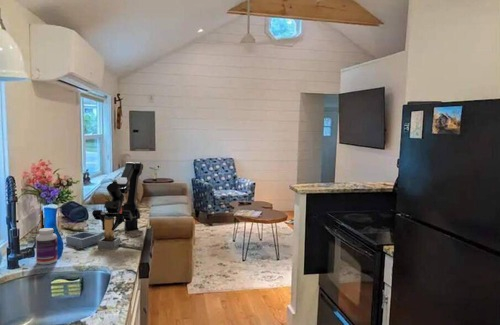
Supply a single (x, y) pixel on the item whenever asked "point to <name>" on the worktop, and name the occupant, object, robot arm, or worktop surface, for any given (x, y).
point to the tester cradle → (108, 243)
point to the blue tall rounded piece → (42, 217)
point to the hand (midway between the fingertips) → (108, 230)
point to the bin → (82, 239)
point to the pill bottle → (46, 246)
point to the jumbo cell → (108, 228)
